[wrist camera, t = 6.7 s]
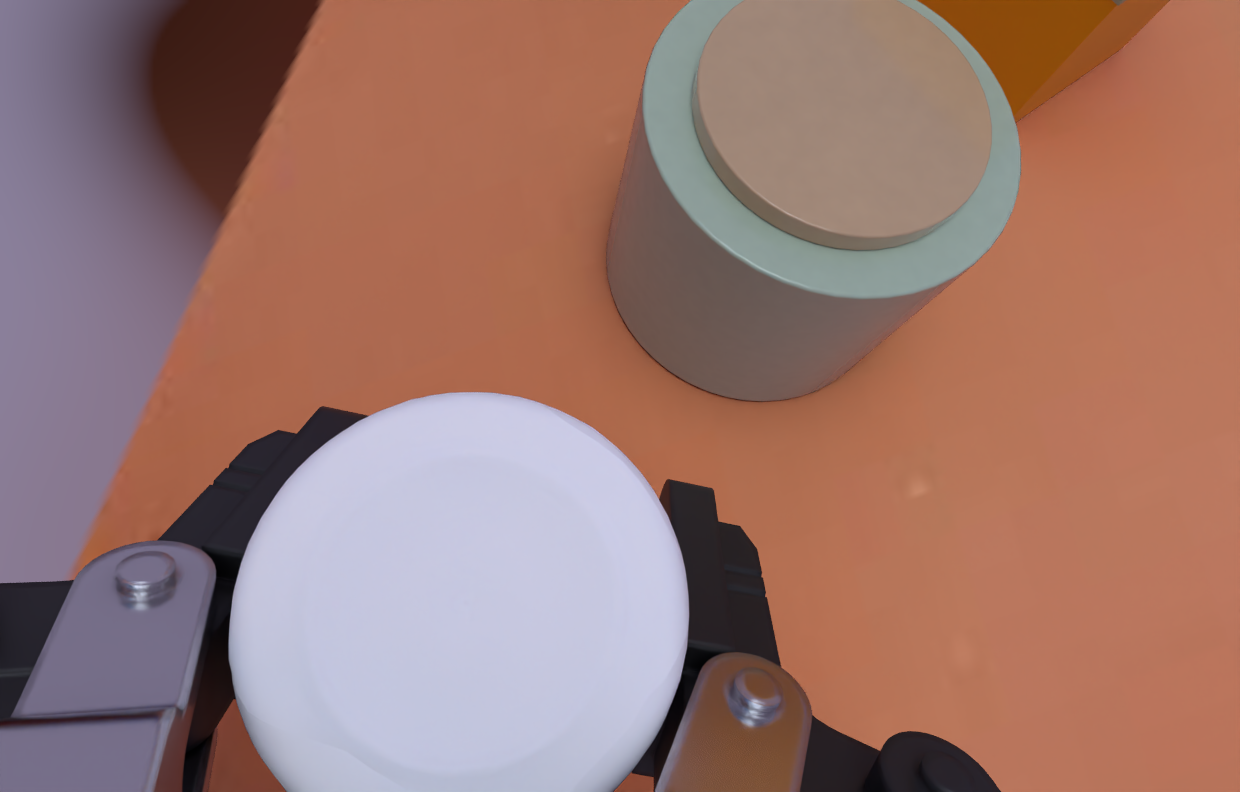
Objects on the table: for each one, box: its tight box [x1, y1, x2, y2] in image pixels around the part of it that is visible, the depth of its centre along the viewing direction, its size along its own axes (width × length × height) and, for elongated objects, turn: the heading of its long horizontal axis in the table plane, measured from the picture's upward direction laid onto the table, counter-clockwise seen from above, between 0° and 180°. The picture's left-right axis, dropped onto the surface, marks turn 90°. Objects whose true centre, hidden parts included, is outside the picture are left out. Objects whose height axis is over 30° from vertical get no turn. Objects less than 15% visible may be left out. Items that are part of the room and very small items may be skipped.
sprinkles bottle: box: [228, 392, 689, 792], centre depth 14 cm, size 5×5×13 cm
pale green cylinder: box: [606, 0, 1021, 401], centre depth 21 cm, size 9×9×8 cm
